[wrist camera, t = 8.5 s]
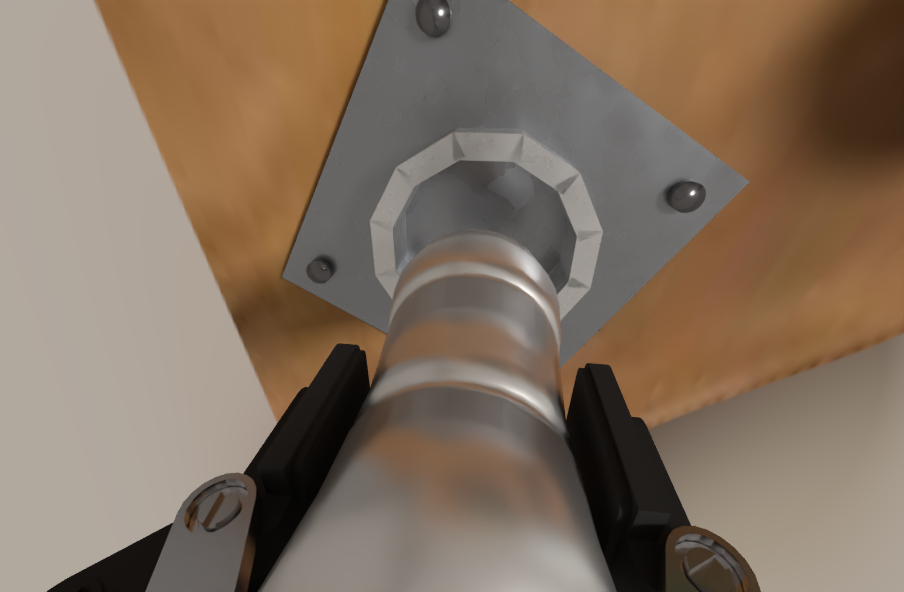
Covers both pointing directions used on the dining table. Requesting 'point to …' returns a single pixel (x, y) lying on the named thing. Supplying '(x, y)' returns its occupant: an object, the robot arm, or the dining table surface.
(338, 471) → the plastic bottle
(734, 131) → the dining table surface
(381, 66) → the duct flange
